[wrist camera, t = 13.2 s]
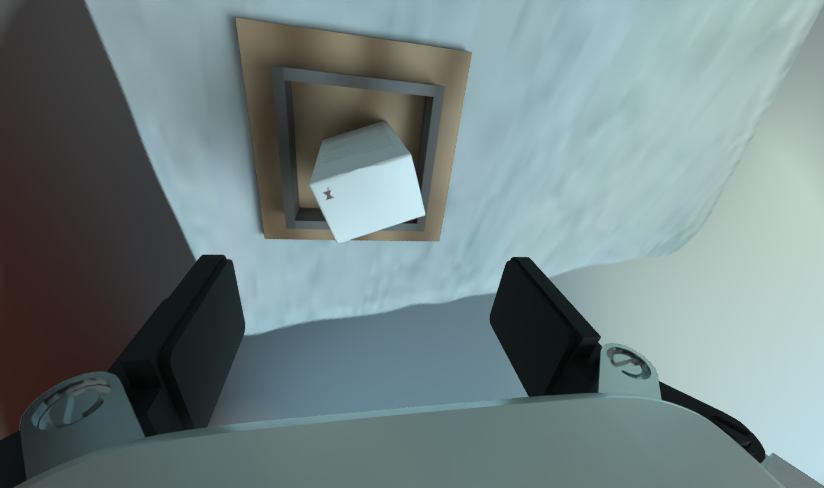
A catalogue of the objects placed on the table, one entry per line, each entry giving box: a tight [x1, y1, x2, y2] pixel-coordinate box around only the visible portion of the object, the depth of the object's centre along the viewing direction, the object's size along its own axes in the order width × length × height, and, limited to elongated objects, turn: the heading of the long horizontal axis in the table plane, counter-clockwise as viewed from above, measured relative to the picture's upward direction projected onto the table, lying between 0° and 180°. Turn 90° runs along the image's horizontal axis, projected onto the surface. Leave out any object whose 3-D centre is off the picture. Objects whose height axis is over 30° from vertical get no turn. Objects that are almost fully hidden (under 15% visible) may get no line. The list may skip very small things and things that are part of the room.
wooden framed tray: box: [236, 18, 472, 241], centre depth 28 cm, size 18×18×4 cm
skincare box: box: [309, 121, 425, 243], centre depth 23 cm, size 6×4×12 cm
